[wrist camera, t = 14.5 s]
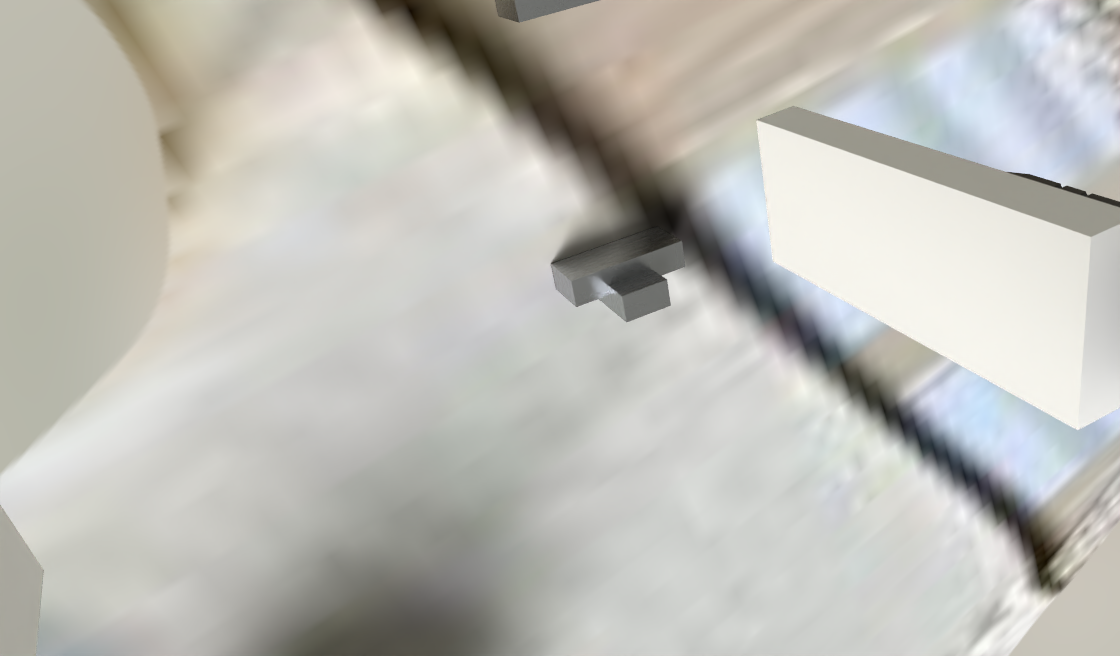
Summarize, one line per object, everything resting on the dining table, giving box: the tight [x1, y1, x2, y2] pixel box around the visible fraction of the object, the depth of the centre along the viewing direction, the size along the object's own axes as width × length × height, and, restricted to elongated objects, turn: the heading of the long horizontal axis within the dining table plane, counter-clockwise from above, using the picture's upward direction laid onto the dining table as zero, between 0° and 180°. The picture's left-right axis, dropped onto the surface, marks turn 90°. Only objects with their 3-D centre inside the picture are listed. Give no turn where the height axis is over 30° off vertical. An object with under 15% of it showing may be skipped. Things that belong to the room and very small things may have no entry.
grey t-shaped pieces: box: [495, 0, 685, 322], centre depth 43 cm, size 6×17×4 cm, turn 11°
